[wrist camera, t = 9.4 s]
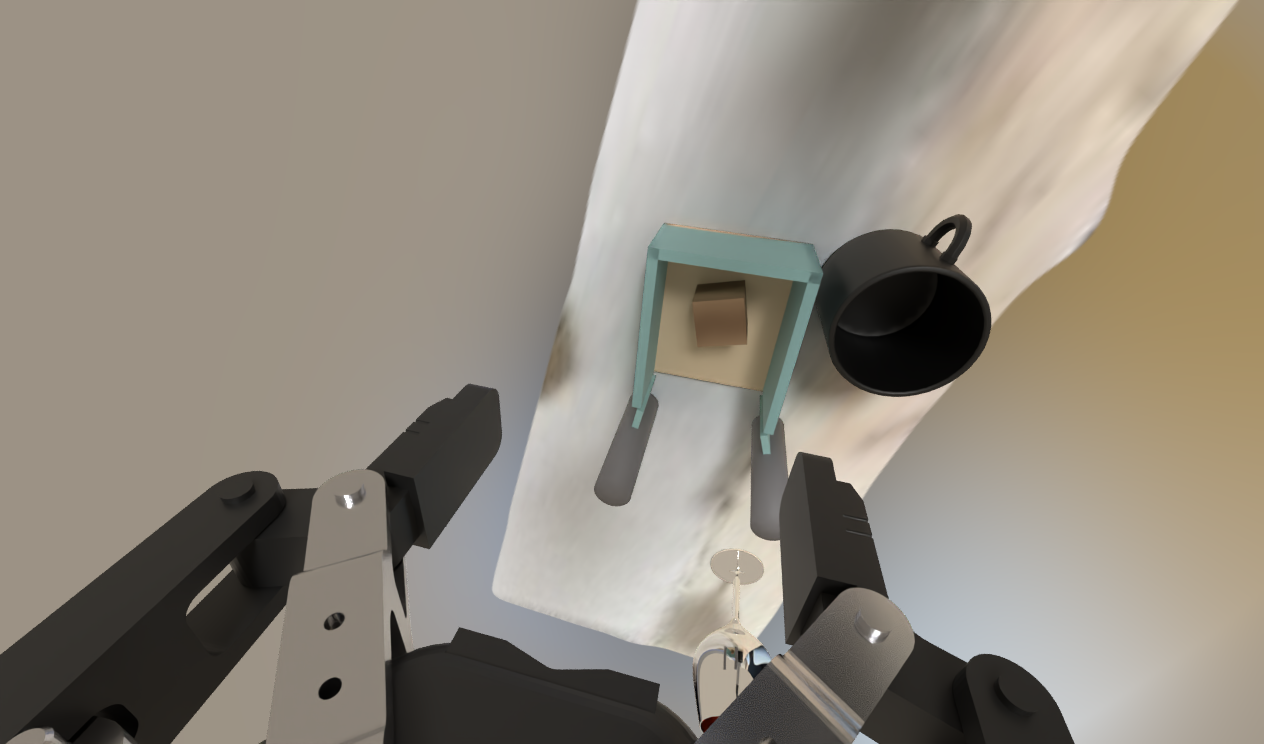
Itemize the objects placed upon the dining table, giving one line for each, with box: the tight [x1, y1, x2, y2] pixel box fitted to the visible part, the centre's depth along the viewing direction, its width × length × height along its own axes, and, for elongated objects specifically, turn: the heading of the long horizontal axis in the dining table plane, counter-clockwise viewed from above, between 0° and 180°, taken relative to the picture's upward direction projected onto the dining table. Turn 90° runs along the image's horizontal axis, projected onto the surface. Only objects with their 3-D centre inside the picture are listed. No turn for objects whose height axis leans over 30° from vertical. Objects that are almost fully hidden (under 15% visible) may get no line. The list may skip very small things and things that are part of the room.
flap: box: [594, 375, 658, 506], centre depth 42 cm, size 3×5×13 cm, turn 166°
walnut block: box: [692, 280, 748, 347], centre depth 40 cm, size 4×4×4 cm
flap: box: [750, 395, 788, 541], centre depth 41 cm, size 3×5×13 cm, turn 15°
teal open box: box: [632, 223, 823, 435], centre depth 39 cm, size 14×12×7 cm
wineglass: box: [693, 549, 772, 733], centre depth 51 cm, size 8×8×18 cm
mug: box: [815, 214, 991, 397], centre depth 34 cm, size 9×12×9 cm
